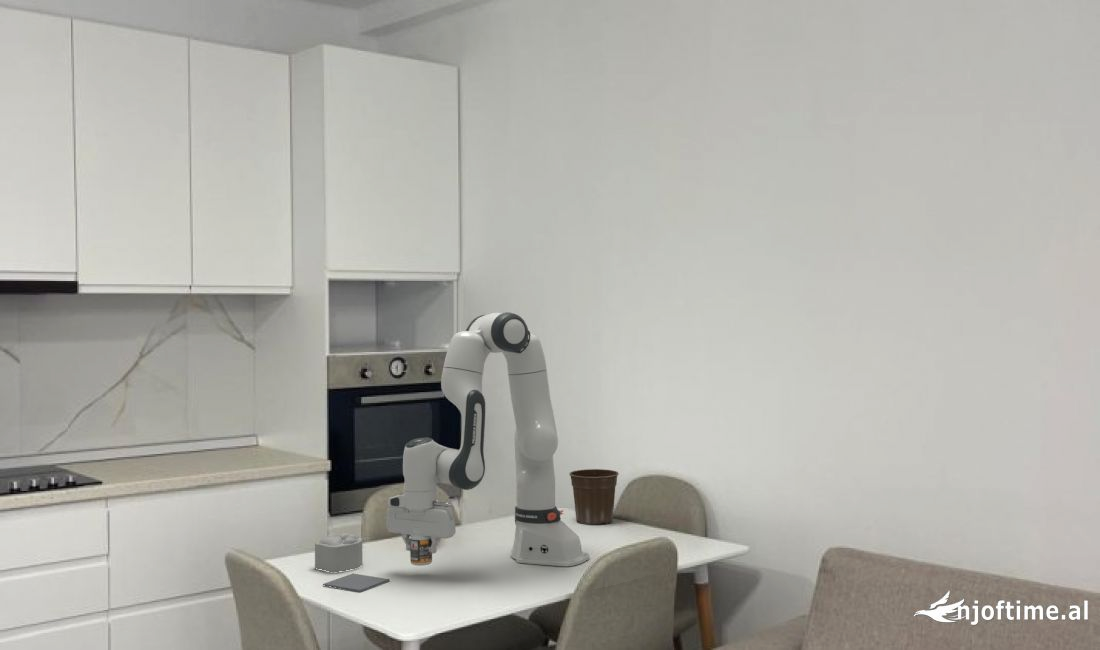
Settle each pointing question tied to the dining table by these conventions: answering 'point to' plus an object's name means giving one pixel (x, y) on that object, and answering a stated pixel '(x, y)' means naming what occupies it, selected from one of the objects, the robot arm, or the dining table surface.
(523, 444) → the robot arm
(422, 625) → the dining table surface
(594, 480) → the plant pot
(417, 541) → the pill bottle
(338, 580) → the coaster
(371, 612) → the dining table surface
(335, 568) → the lumpy-topped squat cylinder
